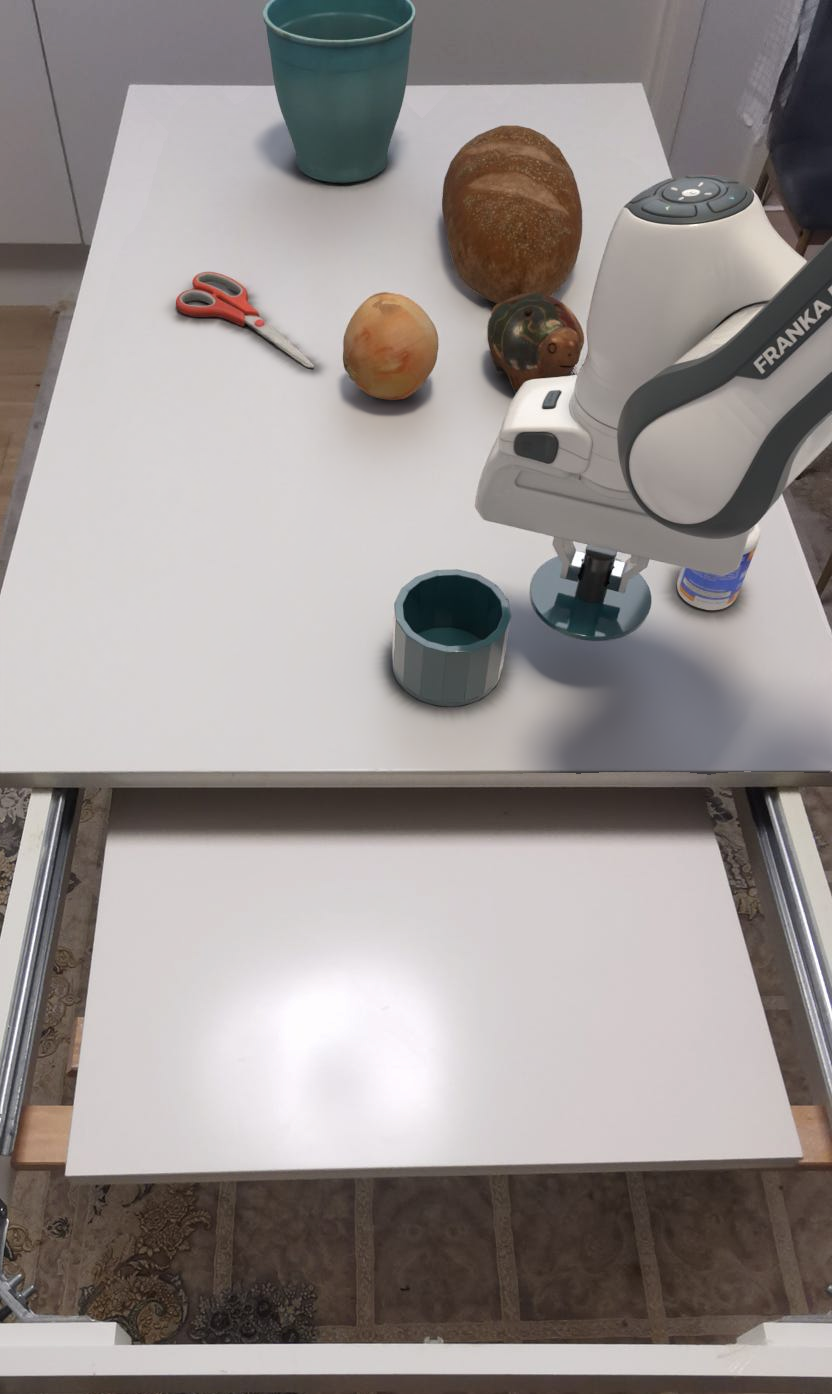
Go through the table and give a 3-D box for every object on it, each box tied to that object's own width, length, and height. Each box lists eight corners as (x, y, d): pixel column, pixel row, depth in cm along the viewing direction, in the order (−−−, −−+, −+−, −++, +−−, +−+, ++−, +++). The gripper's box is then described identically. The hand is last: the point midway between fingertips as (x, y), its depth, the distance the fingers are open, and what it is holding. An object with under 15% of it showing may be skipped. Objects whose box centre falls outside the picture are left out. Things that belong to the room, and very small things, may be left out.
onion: (454, 399, 111) (462, 307, 103) (373, 430, 108) (374, 338, 100) (404, 353, 116) (408, 262, 107) (325, 381, 113) (322, 290, 105)
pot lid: (544, 550, 91) (554, 496, 86) (658, 577, 89) (675, 524, 84) (514, 628, 86) (524, 576, 81) (635, 659, 84) (652, 608, 79)
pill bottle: (742, 612, 94) (778, 525, 85) (680, 612, 94) (710, 524, 86) (730, 569, 97) (764, 481, 89) (670, 569, 97) (699, 480, 89)
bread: (449, 315, 120) (457, 211, 110) (434, 187, 136) (440, 86, 127) (588, 314, 120) (607, 210, 110) (556, 186, 136) (571, 85, 127)
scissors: (310, 371, 114) (310, 359, 113) (164, 307, 121) (162, 295, 120) (352, 338, 117) (353, 325, 116) (208, 278, 124) (206, 265, 123)
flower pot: (260, 140, 144) (250, -12, 130) (389, 125, 146) (392, -26, 132) (287, 205, 134) (279, 48, 120) (425, 187, 136) (433, 31, 122)
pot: (412, 615, 93) (415, 558, 88) (513, 641, 92) (523, 584, 86) (377, 689, 89) (379, 634, 83) (484, 718, 87) (492, 664, 81)
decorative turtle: (532, 425, 108) (537, 351, 102) (456, 358, 117) (456, 286, 110) (612, 394, 111) (621, 320, 104) (531, 330, 119) (535, 258, 113)
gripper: (789, 436, 73) (730, 585, 85) (502, 376, 77) (483, 526, 89) (777, 493, 70) (717, 639, 82) (478, 427, 74) (461, 576, 85)
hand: (593, 580), depth 85 cm, fingers closed on pot lid, 2 cm apart
